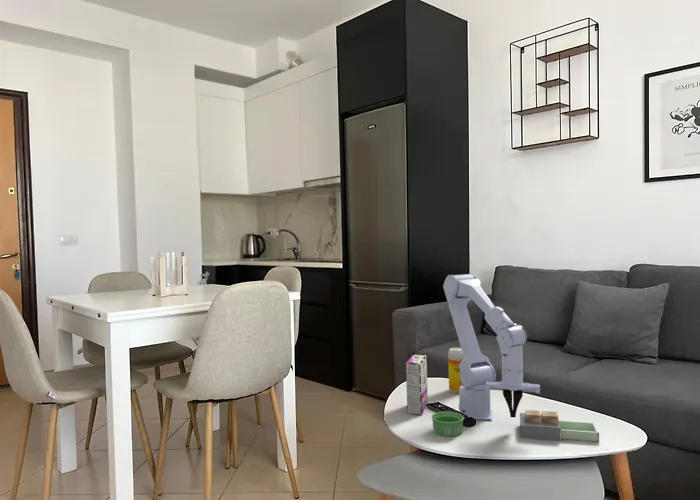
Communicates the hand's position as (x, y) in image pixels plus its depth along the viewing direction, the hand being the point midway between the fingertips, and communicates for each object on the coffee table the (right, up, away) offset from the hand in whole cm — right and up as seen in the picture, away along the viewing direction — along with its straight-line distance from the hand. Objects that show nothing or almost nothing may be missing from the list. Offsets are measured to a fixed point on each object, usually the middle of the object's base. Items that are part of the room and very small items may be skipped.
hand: (512, 416), depth 150 cm
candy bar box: (-25, -4, +20) cm, 32 cm away
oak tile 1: (+5, -1, -1) cm, 5 cm away
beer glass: (-8, -3, +38) cm, 39 cm away
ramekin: (-18, -5, +1) cm, 19 cm away
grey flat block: (+7, -4, -2) cm, 8 cm away
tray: (+17, -4, -4) cm, 18 cm away
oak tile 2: (+10, -1, -3) cm, 10 cm away
